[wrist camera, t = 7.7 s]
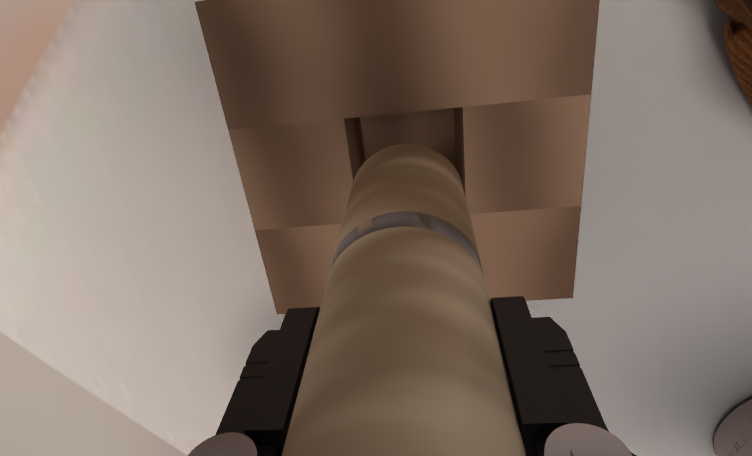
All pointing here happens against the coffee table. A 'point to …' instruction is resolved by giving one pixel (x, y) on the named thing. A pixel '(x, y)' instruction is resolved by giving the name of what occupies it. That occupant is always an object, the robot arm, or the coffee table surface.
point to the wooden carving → (739, 40)
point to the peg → (405, 326)
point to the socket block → (409, 122)
